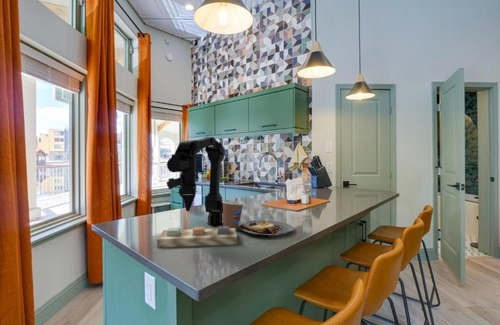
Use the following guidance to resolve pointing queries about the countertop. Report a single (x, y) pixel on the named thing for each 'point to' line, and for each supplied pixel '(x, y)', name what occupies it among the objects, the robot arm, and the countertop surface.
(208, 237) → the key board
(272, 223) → the food plate
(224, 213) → the coffee cup
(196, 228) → the terracotta key
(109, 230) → the countertop surface
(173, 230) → the sage green cube
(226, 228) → the charcoal key
